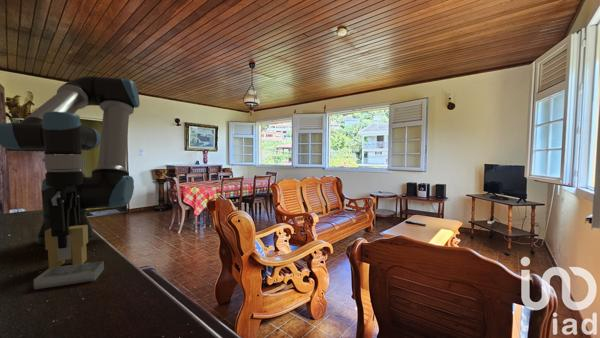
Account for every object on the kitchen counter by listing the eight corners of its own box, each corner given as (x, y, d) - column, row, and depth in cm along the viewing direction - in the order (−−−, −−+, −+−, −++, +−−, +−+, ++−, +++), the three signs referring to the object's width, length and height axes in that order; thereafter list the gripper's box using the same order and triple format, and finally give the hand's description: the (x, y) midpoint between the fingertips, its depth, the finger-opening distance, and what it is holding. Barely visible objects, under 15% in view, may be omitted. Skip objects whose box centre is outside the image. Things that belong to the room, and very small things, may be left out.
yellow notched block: (53, 263, 72) (51, 227, 72) (89, 259, 75) (87, 224, 75) (46, 269, 69) (44, 231, 69) (84, 264, 72) (82, 227, 72)
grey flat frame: (49, 276, 65) (49, 267, 65) (104, 269, 69) (103, 260, 69) (34, 289, 58) (33, 279, 58) (94, 280, 62) (94, 271, 62)
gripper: (61, 169, 77) (64, 248, 78) (28, 172, 62) (33, 270, 63) (92, 169, 80) (95, 245, 81) (68, 171, 65) (72, 265, 66)
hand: (68, 256), depth 72 cm, fingers closed on yellow notched block, 4 cm apart
